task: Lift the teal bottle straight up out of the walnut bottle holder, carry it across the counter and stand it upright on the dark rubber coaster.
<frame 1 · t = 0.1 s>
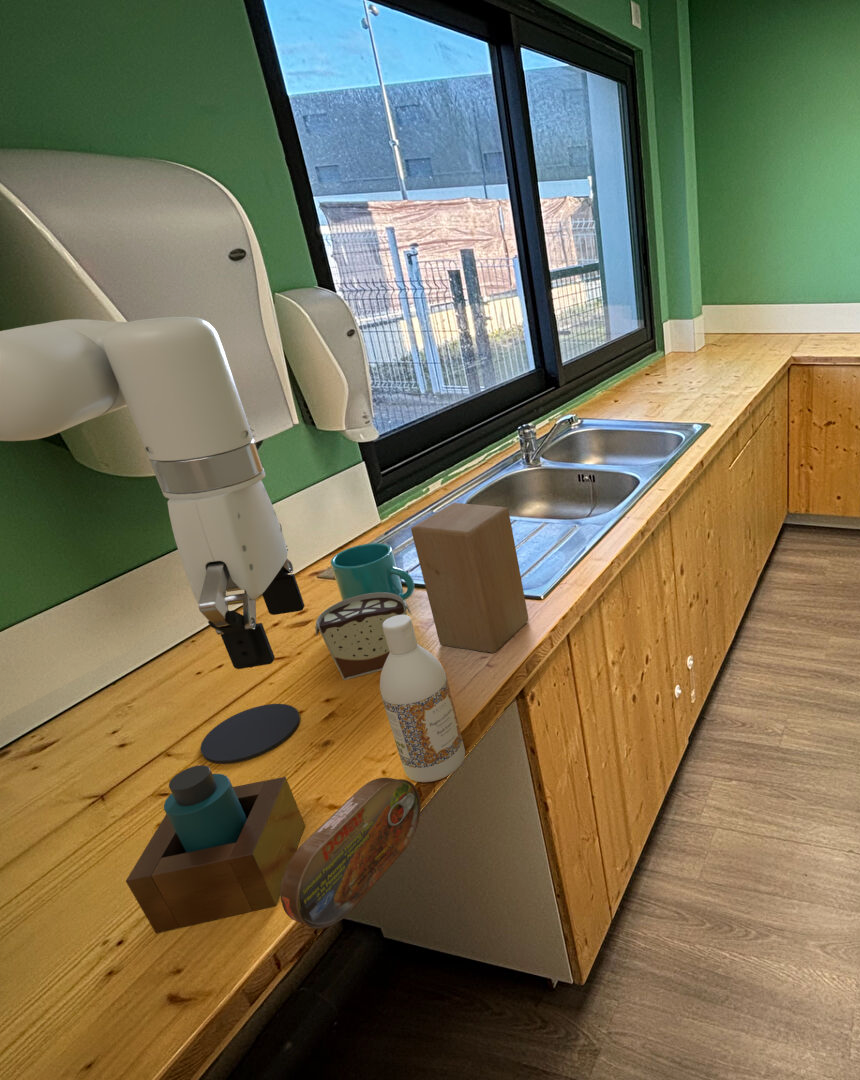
hand: (272, 636, 67), 23 cm above the countertop, tool pointing down, fingers open, 9 cm apart
food container: (378, 661, 105), on the countertop
bottle: (213, 828, 68), in the holder
wooden block: (486, 633, 110), on the countertop
bath foam: (436, 764, 84), on the countertop
tin: (367, 878, 70), on the countertop
cup: (387, 616, 117), on the countertop
coaster: (252, 733, 90), on the countertop
holder: (236, 875, 70), on the countertop
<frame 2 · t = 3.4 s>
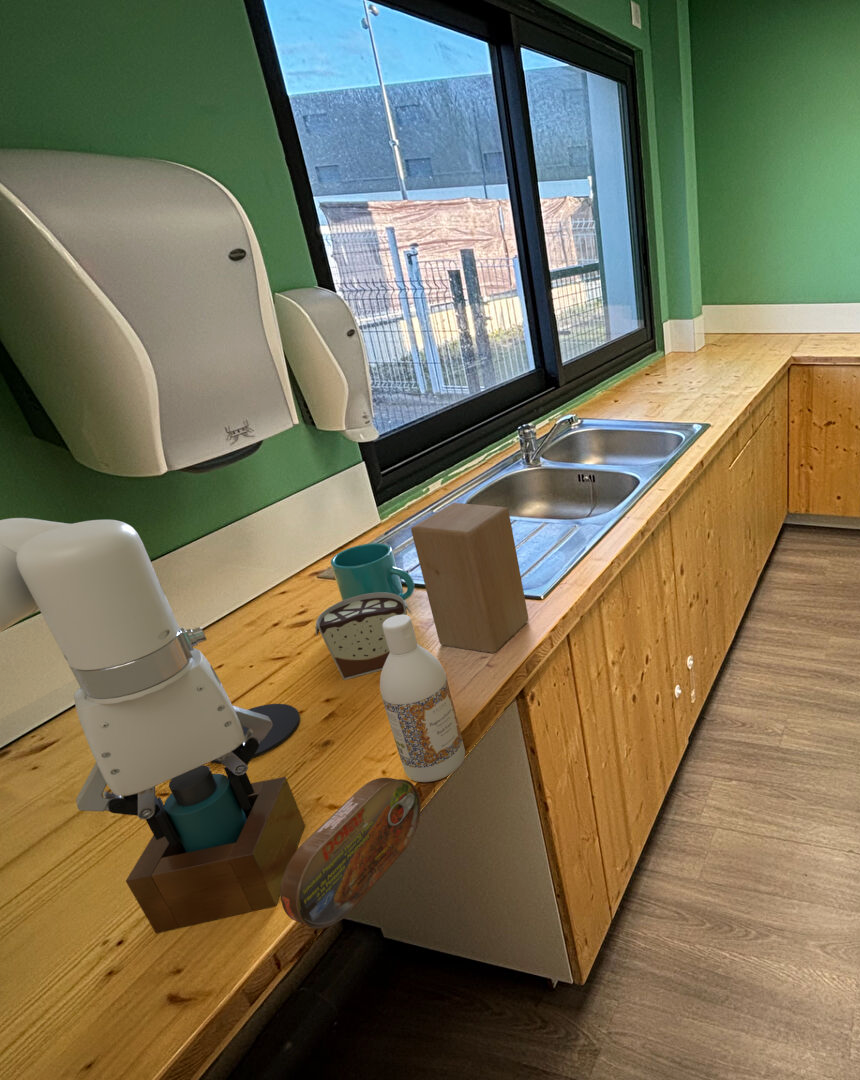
hand: (209, 817, 67), 8 cm above the countertop, tool pointing down, fingers closed on bottle, 5 cm apart
bottle: (213, 828, 68), in the holder, touching gripper
everything else where it was.
when the fingers open (8 cm above the countertop, at t = 11.7 s): bottle stays where it is, resting on coaster.
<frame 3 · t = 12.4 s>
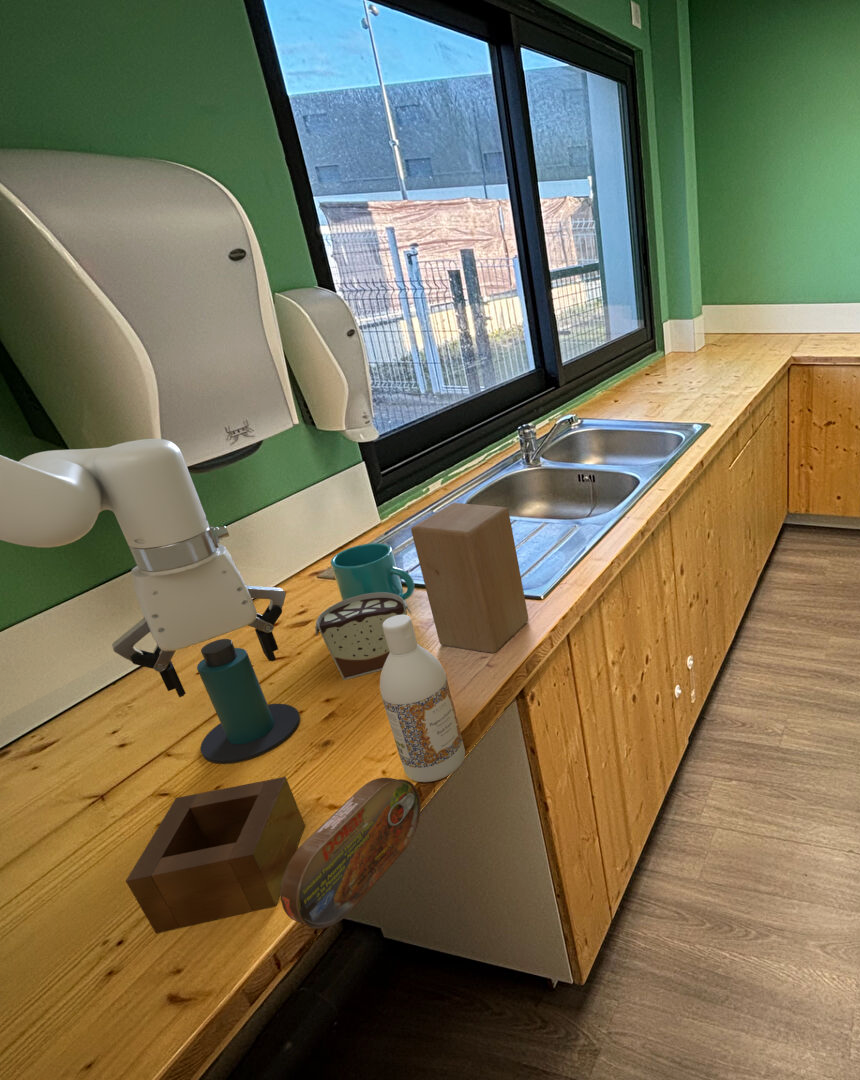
hand: (227, 673, 86), 9 cm above the countertop, tool pointing down, fingers open, 9 cm apart
bottle: (234, 689, 87), on the coaster
everything else where it was.
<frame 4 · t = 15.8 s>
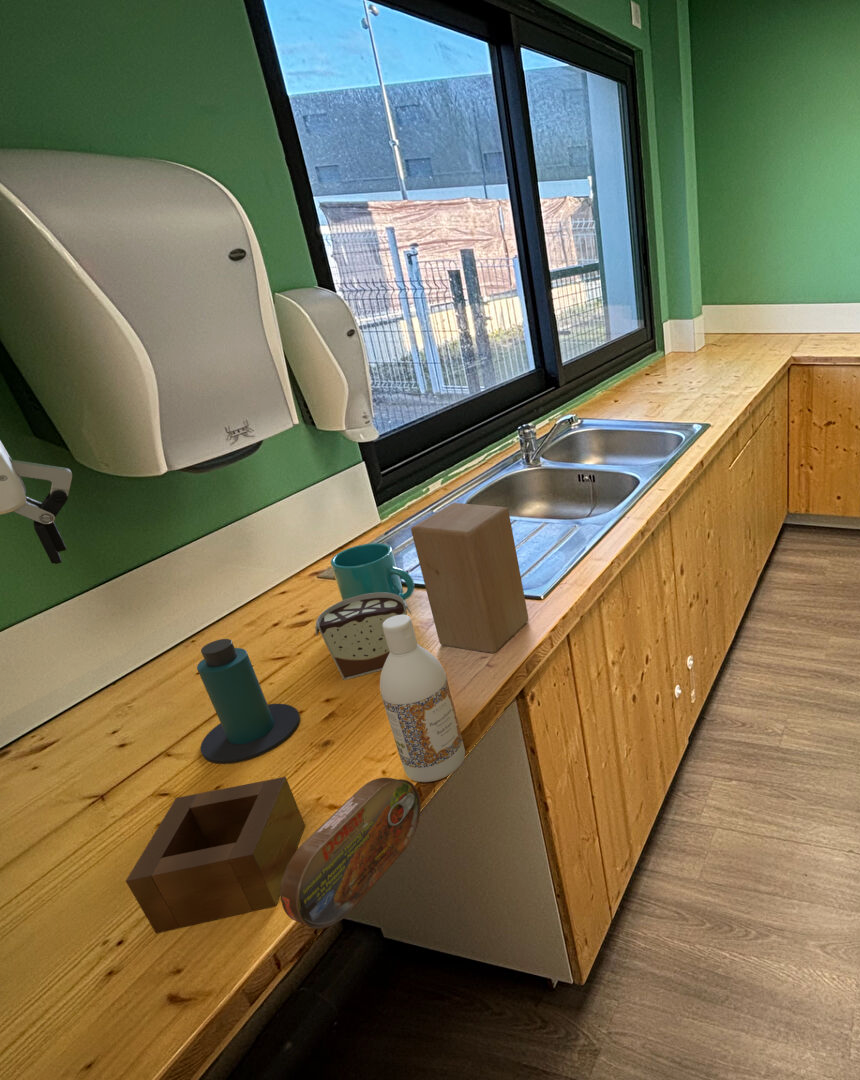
nothing on the countertop moved.
at the end: bottle inside the target area on the coaster (0.0 cm from its centre), point 7.0 cm above the coaster's base; bottle tilted 0°; the gripper is holding nothing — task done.
